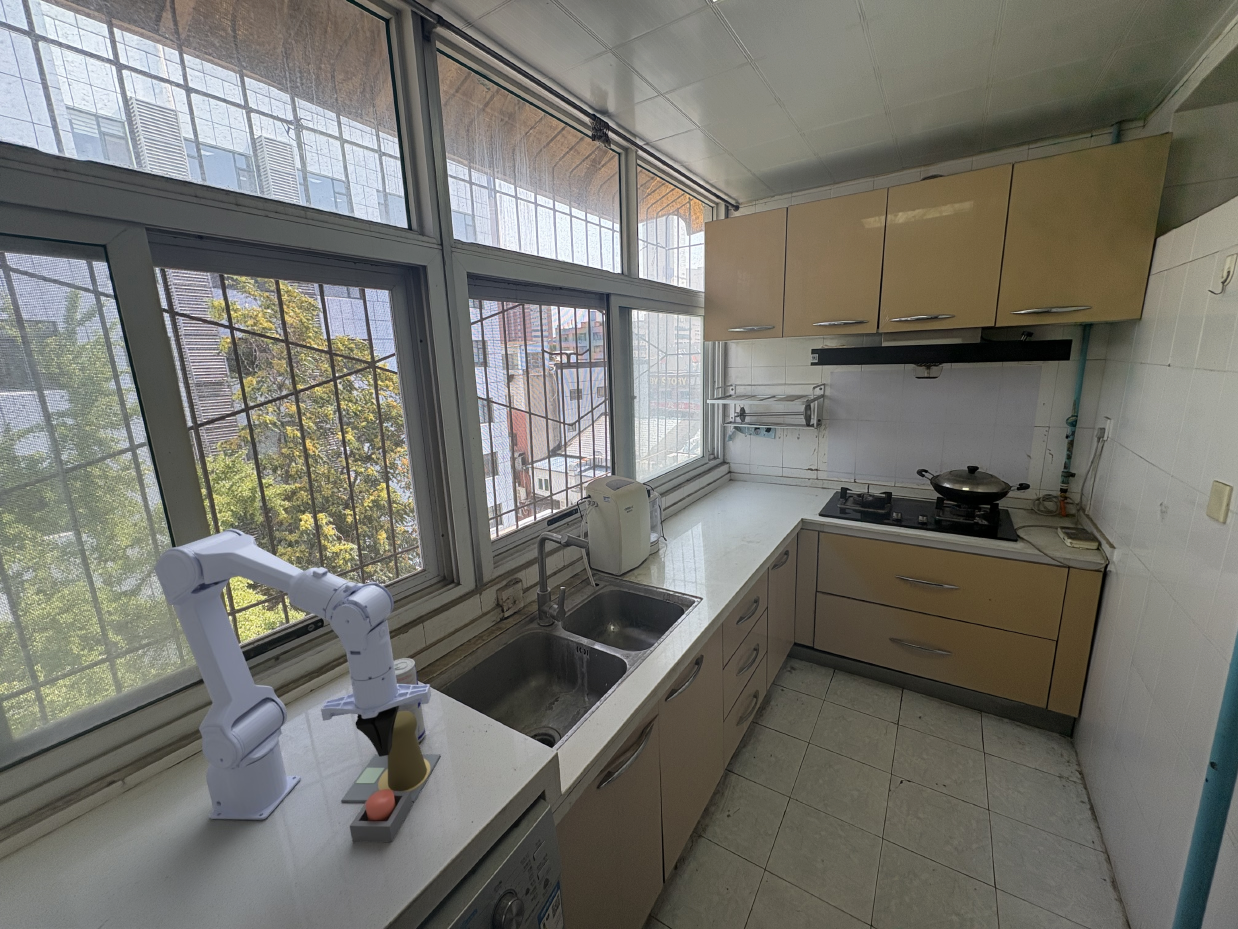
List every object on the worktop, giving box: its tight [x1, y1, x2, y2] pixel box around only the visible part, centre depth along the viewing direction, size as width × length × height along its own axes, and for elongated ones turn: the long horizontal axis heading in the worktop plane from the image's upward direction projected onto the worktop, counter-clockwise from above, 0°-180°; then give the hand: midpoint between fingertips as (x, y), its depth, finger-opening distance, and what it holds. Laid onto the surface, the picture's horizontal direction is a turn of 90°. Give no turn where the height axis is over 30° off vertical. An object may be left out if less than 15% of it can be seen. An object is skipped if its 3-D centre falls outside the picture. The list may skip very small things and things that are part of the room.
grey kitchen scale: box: [340, 753, 441, 804], centre depth 81 cm, size 12×10×1 cm
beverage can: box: [393, 657, 426, 744], centre depth 89 cm, size 6×6×15 cm
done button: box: [365, 789, 396, 821], centre depth 72 cm, size 4×4×2 cm
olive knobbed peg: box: [388, 711, 427, 791], centre depth 80 cm, size 6×6×11 cm
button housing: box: [349, 791, 413, 843], centre depth 73 cm, size 6×6×3 cm
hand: (385, 751), depth 73 cm, fingers closed
